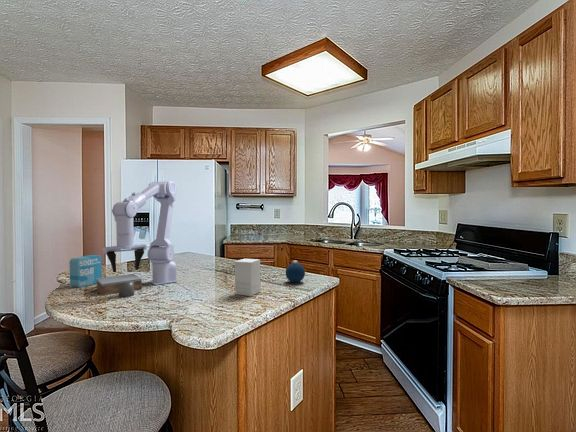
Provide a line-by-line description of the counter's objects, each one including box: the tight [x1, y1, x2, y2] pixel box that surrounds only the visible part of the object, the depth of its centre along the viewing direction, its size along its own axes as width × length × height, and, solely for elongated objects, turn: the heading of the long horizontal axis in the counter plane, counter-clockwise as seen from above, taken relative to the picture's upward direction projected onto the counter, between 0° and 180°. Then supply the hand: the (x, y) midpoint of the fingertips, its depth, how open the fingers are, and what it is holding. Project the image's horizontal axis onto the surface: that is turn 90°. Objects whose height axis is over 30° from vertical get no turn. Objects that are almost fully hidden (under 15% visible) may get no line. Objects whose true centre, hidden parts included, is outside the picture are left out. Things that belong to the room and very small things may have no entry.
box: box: [96, 281, 143, 296], centre depth 135 cm, size 14×12×3 cm
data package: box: [69, 254, 103, 288], centre depth 144 cm, size 12×4×12 cm, turn 163°
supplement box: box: [234, 258, 262, 297], centre depth 128 cm, size 7×7×13 cm
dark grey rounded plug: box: [118, 281, 135, 298], centre depth 126 cm, size 5×5×5 cm
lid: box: [97, 273, 142, 286], centre depth 135 cm, size 14×12×1 cm
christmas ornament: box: [285, 259, 306, 284], centre depth 145 cm, size 8×8×10 cm
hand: (125, 270), depth 126 cm, fingers open, 7 cm apart
